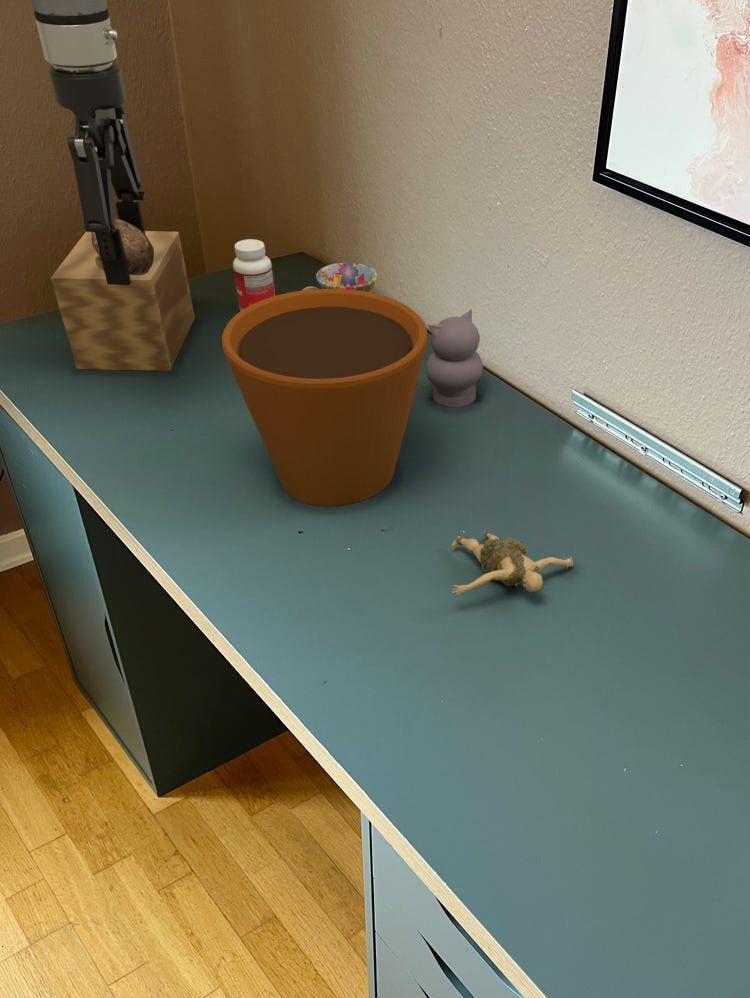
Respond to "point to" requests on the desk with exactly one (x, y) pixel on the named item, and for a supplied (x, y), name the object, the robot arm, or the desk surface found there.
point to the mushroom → (131, 248)
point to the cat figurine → (454, 361)
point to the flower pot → (328, 387)
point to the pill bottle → (252, 273)
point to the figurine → (506, 563)
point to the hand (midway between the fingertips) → (129, 268)
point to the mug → (346, 277)
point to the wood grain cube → (125, 308)
